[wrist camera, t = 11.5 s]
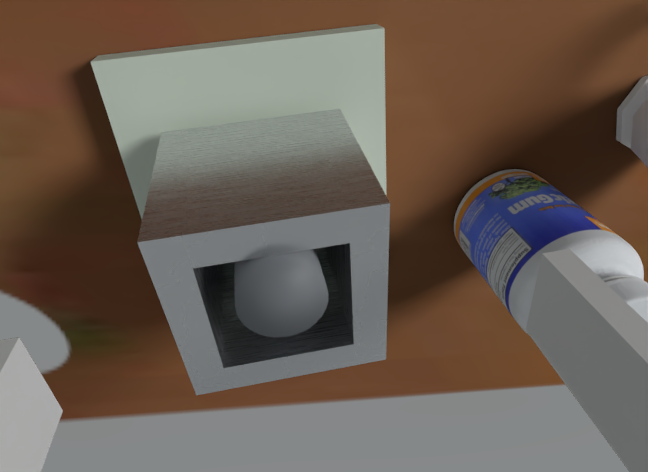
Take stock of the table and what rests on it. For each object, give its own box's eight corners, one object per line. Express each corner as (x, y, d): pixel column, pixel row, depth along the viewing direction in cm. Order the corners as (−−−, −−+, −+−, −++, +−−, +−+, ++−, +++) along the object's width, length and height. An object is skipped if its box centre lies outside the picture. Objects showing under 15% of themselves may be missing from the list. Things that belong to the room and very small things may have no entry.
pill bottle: (562, 170, 25) (730, 281, 16) (524, 258, 27) (651, 391, 19) (468, 161, 23) (597, 275, 15) (437, 253, 26) (533, 393, 18)
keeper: (98, 55, 18) (1, 133, 10) (376, 23, 19) (475, 73, 12) (174, 298, 25) (149, 459, 17) (380, 264, 26) (446, 400, 18)
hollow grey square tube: (161, 132, 18) (137, 242, 13) (339, 108, 19) (390, 203, 13) (201, 268, 22) (196, 395, 17) (346, 245, 23) (385, 359, 18)
